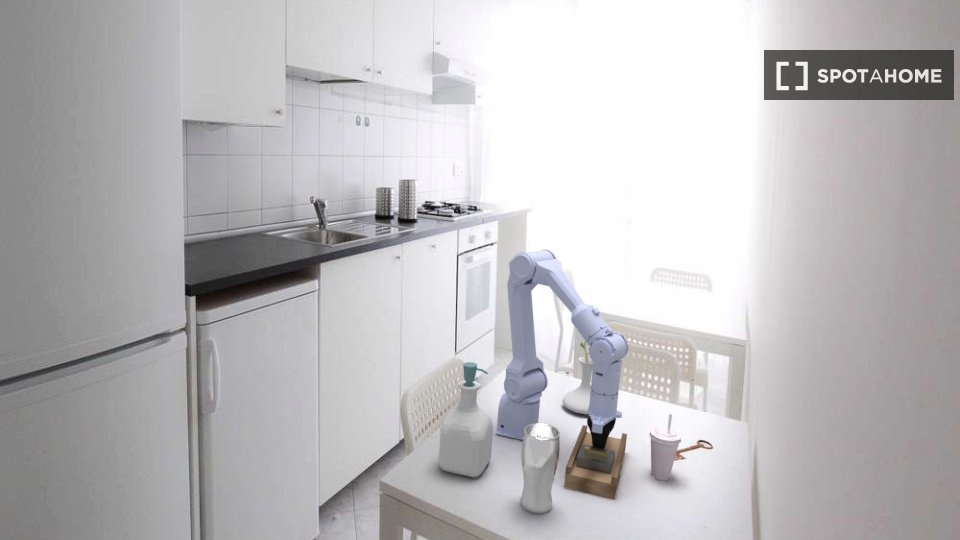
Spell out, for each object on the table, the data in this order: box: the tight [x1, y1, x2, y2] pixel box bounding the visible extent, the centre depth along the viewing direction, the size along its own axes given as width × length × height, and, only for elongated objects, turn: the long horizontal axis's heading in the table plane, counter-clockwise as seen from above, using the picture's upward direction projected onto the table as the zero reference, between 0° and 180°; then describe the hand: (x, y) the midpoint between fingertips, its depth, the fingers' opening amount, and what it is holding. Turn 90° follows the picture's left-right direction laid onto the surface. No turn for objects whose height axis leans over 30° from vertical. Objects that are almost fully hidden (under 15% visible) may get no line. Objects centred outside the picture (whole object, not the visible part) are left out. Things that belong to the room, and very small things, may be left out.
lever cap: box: [576, 444, 615, 474], centre depth 118 cm, size 7×6×3 cm
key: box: [674, 439, 714, 462], centre depth 132 cm, size 6×1×15 cm
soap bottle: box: [438, 361, 494, 478], centre depth 118 cm, size 10×10×23 cm
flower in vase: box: [562, 340, 593, 415], centre depth 150 cm, size 13×11×25 cm
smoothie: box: [648, 413, 682, 481], centre depth 119 cm, size 6×6×14 cm
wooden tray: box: [563, 424, 628, 500], centre depth 122 cm, size 10×20×4 cm, turn 160°
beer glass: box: [519, 422, 561, 515], centre depth 107 cm, size 7×7×15 cm
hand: (598, 450), depth 122 cm, fingers closed
